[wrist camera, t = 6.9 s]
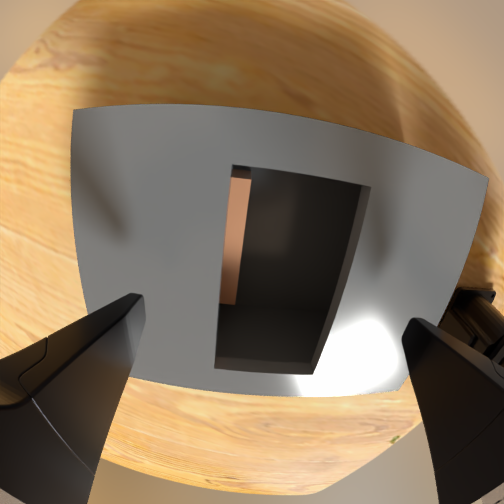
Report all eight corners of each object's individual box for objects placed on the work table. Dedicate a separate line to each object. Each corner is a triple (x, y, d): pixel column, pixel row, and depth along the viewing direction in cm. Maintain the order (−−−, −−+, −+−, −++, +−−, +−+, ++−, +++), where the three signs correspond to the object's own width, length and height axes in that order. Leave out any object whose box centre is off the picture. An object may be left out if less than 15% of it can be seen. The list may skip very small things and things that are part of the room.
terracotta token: (251, 179, 12) (162, 170, 12) (234, 305, 14) (160, 295, 14) (251, 171, 15) (178, 163, 14) (237, 277, 17) (173, 269, 17)
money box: (407, 155, 15) (488, 178, 8) (361, 315, 20) (398, 390, 13) (146, 116, 14) (73, 109, 7) (144, 294, 19) (103, 370, 12)
